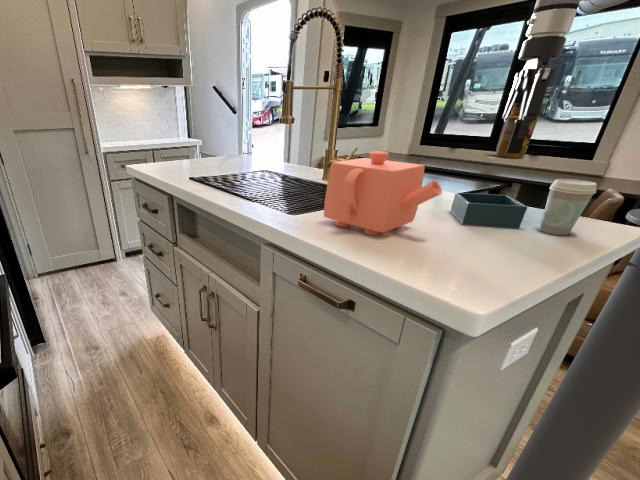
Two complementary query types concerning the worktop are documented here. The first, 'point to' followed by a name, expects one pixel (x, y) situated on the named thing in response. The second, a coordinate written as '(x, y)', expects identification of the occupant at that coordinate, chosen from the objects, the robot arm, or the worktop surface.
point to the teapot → (376, 192)
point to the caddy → (488, 210)
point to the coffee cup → (566, 205)
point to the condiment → (507, 135)
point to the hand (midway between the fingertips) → (507, 151)
